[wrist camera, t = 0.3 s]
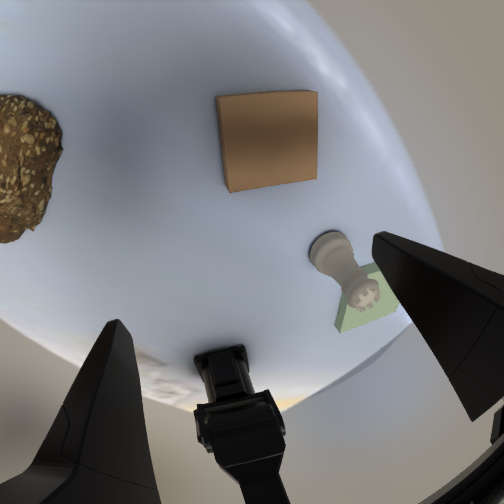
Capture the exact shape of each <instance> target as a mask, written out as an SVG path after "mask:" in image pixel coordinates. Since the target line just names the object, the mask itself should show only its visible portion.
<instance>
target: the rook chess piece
mask: <svg viewBox="0 0 504 504" xmlns="http://www.w3.org/2000/svg"><path fill="white" fill-rule="evenodd" d="M310 261H311V263H312V264H313V266H315V267H316V269H317V270H318V271H319V272H321V273H323V274H326V275H328V276H331V277H332V278H333V279H334V280H335V281H337V282H338V283H339V284H340V286H341V287H342V289H341V290H342V292H343V293H344V294H346V295H348V301H347V303H348V305H349V306H350V307H352V308H356V309H357V311H359V310H360V312H365V311H366V309H365V307H366V306H367V307H368V308H369V310H370V309H371V308H373V307H374V306H373V304H372V302H373V301H374V300H375V302H378V301H379V300H380V297H379V295H381V292H380V291H379V284H378V281H376V280H375V279H368V275H367V272H365V271H364V270H361V269H360V267H359V266H358V264H357V263H356V261H355V259H354V254H353V248H352V246H351V243H350V241H349V240H347V238H346V236H345V235H344V234H342V233H341V232H329V233H326V234H324V235H322V236H321V237H319V238H318V239H317V240H316V241H315V243H314V244H313V246H312V249H311V251H310Z"/></svg>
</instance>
